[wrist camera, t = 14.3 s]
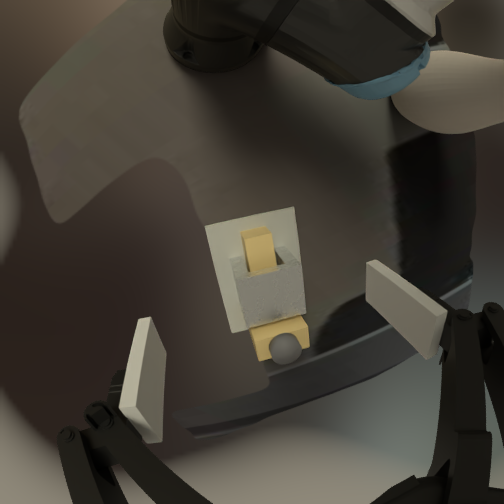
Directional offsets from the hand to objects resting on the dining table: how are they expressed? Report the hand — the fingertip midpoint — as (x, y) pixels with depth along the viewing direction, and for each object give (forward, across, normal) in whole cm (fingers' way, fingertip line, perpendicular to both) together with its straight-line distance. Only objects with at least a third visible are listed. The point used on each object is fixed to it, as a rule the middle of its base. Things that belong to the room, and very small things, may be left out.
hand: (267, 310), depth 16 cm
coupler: (+29, +4, -12) cm, 31 cm away
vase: (+29, +36, +15) cm, 49 cm away
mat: (+29, +4, -12) cm, 31 cm away
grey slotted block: (+28, +4, -12) cm, 31 cm away
